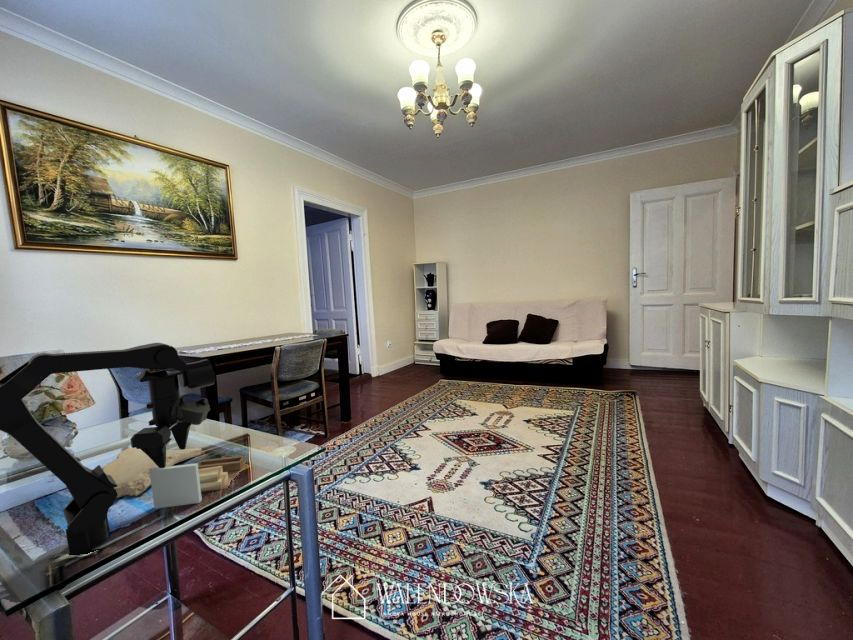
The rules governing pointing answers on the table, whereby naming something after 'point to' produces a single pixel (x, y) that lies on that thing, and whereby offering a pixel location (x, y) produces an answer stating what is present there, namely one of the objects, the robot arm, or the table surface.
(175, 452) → the tan curved tapered piece
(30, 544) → the table surface
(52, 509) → the table surface
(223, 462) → the rack
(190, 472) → the panel
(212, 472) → the offcut upper
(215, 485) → the offcut lower
